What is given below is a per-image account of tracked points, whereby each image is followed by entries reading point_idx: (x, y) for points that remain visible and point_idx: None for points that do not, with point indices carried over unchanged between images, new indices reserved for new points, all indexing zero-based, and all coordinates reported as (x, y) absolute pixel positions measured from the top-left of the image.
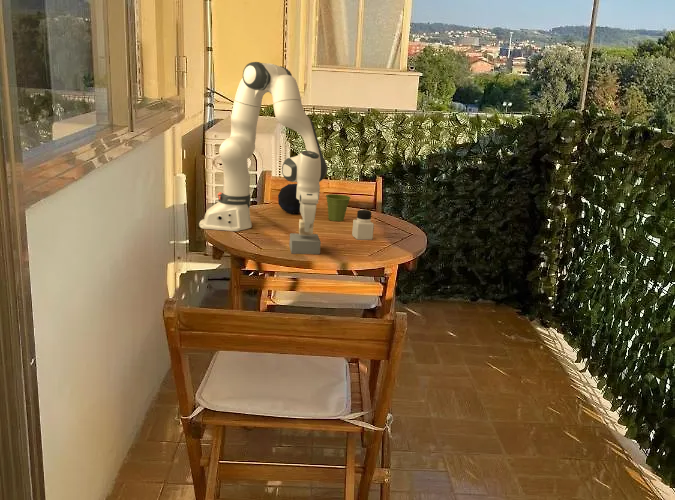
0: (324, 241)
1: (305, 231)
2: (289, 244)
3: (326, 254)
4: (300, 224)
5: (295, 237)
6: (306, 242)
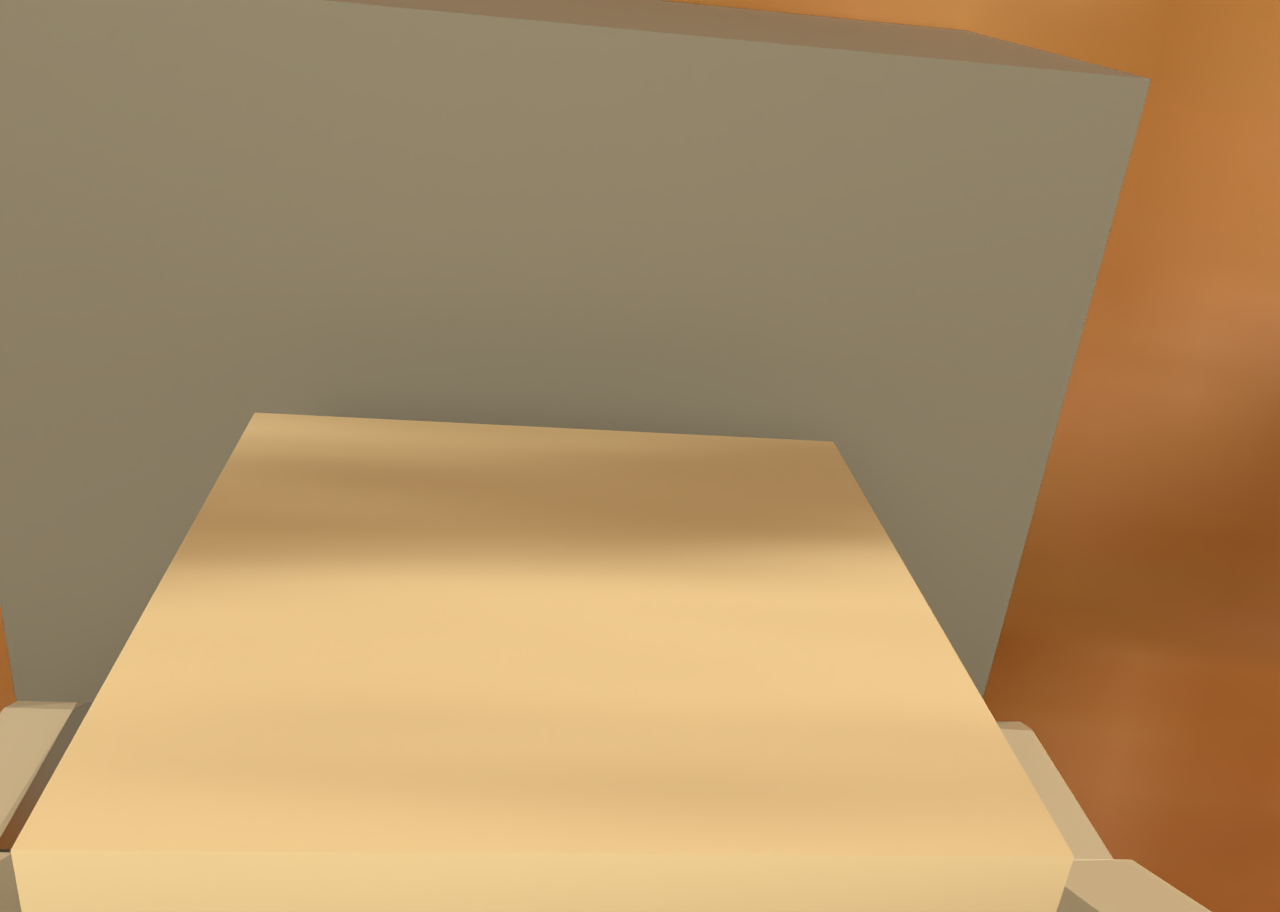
0: (1164, 879)
1: (16, 732)
2: (934, 29)
3: None
4: (78, 728)
5: (495, 213)
6: (6, 527)
